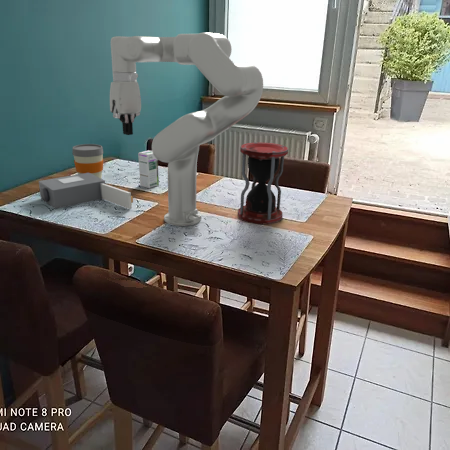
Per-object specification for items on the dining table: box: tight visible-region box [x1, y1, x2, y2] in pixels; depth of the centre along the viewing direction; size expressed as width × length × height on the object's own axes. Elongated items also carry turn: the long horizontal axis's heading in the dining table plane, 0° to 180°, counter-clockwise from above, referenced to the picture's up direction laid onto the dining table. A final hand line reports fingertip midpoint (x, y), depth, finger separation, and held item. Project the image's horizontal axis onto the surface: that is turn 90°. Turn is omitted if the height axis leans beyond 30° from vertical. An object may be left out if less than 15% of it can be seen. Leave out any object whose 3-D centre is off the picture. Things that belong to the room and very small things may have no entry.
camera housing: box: [38, 173, 106, 210], centre depth 164 cm, size 14×21×7 cm, turn 132°
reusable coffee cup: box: [72, 143, 104, 179], centre depth 184 cm, size 13×13×15 cm
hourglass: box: [237, 141, 289, 225], centre depth 149 cm, size 16×16×25 cm
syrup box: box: [137, 149, 160, 189], centre depth 181 cm, size 6×6×14 cm
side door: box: [100, 183, 134, 210], centre depth 160 cm, size 2×17×6 cm, turn 51°
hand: (128, 134), depth 147 cm, fingers closed
